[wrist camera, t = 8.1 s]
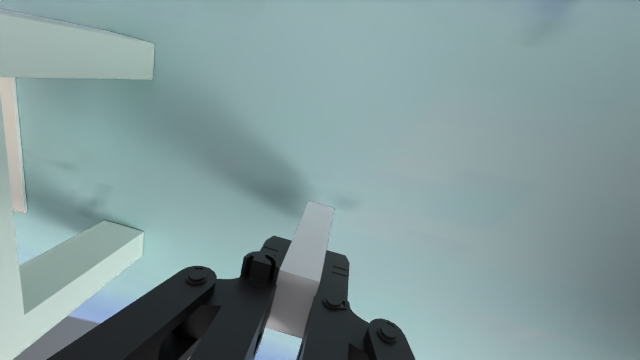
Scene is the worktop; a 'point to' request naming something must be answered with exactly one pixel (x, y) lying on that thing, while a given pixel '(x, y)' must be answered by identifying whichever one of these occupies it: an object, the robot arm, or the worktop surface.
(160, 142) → the worktop surface
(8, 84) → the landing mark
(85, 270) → the bridge
